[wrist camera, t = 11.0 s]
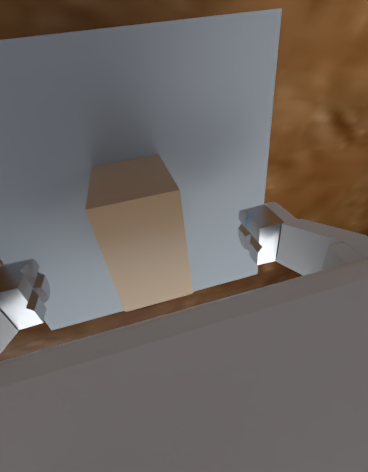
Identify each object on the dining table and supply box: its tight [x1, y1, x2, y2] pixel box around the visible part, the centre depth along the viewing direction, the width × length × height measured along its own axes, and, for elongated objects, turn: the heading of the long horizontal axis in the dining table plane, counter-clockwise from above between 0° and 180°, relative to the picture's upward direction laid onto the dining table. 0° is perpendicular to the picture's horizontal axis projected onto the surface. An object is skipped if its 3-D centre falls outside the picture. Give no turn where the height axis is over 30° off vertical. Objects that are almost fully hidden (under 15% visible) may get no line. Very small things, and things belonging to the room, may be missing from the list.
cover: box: [0, 8, 282, 330], centre depth 11 cm, size 14×14×5 cm
